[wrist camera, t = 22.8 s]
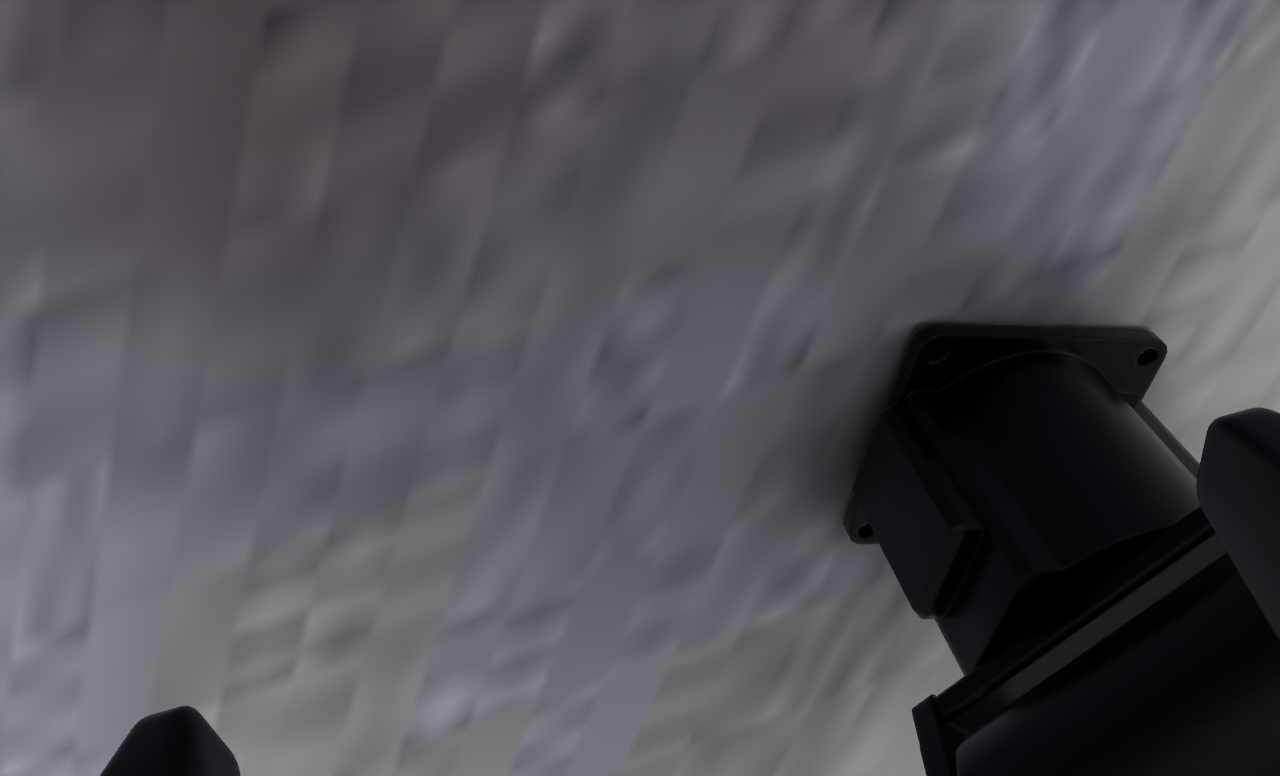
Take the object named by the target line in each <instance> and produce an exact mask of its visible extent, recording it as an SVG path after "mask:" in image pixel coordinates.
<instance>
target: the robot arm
mask: <svg viewBox="0 0 1280 776" xmlns="http://www.w3.org/2000/svg"><path fill="white" fill-rule="evenodd" d="M936 344H940V345H939V346H938V348H936V349H935V350H933V351H930V352H928V351H929V349H930V348H931V347H933V346H934V345H936ZM1143 351H1144V352H1143ZM1142 352H1143V353H1142ZM1141 353H1142V354H1141ZM1166 353H1167V346H1166V345H1165V343H1164V342H1163V341H1162V340H1161V339H1160V338H1159V337H1158V336H1156V335H1155V334H1154V333H1153V332H1151V331H1147V330H1114V329H1080V328H1047V327H1013V326H979V325H945V324H936V325H929V326H927V327H925V328H923V329H921V330H920V331H919V332H918V333H916V334H915V335H914V337H913V339H912V340H911V342H910V344H909V347H908V350H907V352H906V355H905V358H904V361H903V363H902V366H901V369H900V371H899V374H898V377H897V379H896V382H895V385H894V387H893V390H892V393H891V395H890V398H889V401H888V403H887V406H886V409H885V410H884V411H883V412H882V414H881V415H880V417H879V419H878V422H877V425H876V428H875V430H874V433H873V436H872V438H871V441H870V444H869V446H868V449H867V452H866V455H865V457H864V460H863V463H862V465H861V468H860V471H859V473H858V476H857V479H856V482H855V484H854V487H853V494H854V495H853V497H852V500H851V503H850V505H849V508H848V511H847V513H846V516H845V519H844V527H845V529H846V531H847V533H848V535H849V537H850V539H851V541H853V542H854V543H857V544H880V546H881V548H882V550H883V552H884V554H885V556H886V558H887V560H888V562H889V564H890V566H891V568H892V570H893V572H894V574H895V575H896V577H897V579H898V581H899V583H900V585H901V587H902V589H903V591H904V593H905V595H906V597H907V599H908V601H909V603H910V605H911V607H912V609H913V610H914V611H915V612H916V613H917V614H918V615H919V617H920V618H921V619H935V621H936V623H937V624H938V626H939V628H940V630H941V632H942V634H943V636H944V638H945V640H946V641H947V643H948V645H949V647H950V649H951V651H952V653H953V655H954V657H955V658H956V660H957V662H958V664H959V666H960V668H961V670H962V672H963V674H964V675H965V676H964V677H963V678H961V679H960V680H958V681H957V682H956V683H954V684H953V685H952V686H950V687H949V688H947V689H946V690H945V691H943V692H942V693H940V694H939V695H938V696H936V695H933V694H932V695H930V696H929V697H927V698H926V699H925V700H923V701H922V702H920V703H919V704H918V705H916V706H915V707H914V708H912V714H913V718H914V723H915V727H916V731H917V735H918V739H919V743H920V751H921V755H922V759H923V763H924V767H925V771H926V775H927V776H1280V413H1278V412H1275V411H1272V410H1269V409H1266V408H1251V409H1247V410H1243V411H1240V412H1236V413H1232V414H1229V415H1225V416H1222V417H1219V418H1217V419H1215V420H1214V421H1213V422H1212V423H1211V425H1210V426H1209V428H1208V431H1207V435H1206V439H1205V444H1204V449H1203V453H1202V458H1201V462H1200V464H1199V463H1198V462H1197V461H1196V460H1195V459H1194V458H1193V456H1192V455H1191V454H1190V453H1189V452H1188V451H1187V450H1186V449H1185V448H1184V447H1183V446H1182V445H1181V443H1180V442H1179V441H1178V440H1177V439H1176V438H1175V437H1174V436H1173V435H1172V434H1171V433H1170V432H1169V431H1168V429H1167V428H1166V427H1165V426H1164V425H1163V424H1162V423H1161V422H1160V421H1159V420H1158V419H1157V418H1156V416H1155V415H1154V414H1153V413H1152V412H1151V411H1150V410H1149V409H1148V408H1147V407H1146V406H1145V405H1144V403H1143V402H1142V401H1141V400H1142V399H1143V397H1144V395H1145V393H1146V391H1147V390H1148V388H1149V386H1150V384H1151V382H1152V380H1153V379H1154V377H1155V375H1156V373H1157V371H1158V370H1159V368H1160V366H1161V364H1162V362H1163V361H1164V359H1165V356H1166ZM865 524H866V525H865ZM863 525H864V526H863ZM100 776H240V770H239V767H238V764H237V761H236V759H235V757H234V755H233V754H232V752H231V751H230V749H229V748H228V747H227V746H226V745H225V743H224V742H223V741H222V740H221V738H220V737H219V736H218V735H217V733H216V732H215V731H214V730H213V729H212V727H211V726H210V725H209V724H208V722H207V721H206V720H205V719H204V717H203V716H202V715H201V714H200V713H199V712H198V711H197V710H196V709H194V708H192V707H189V706H181V707H177V708H174V709H170V710H166V711H163V712H159V713H156V714H152V715H149V716H147V717H144V718H143V719H141V720H140V721H139V722H138V723H137V724H136V725H135V726H134V727H133V728H132V729H131V731H130V732H129V734H128V735H127V737H126V738H125V740H124V741H123V743H122V744H121V745H120V747H119V748H118V750H117V751H116V753H115V754H114V756H113V757H112V759H111V760H110V762H109V763H108V764H107V766H106V767H105V769H104V770H103V772H102V773H101V775H100Z"/></svg>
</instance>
